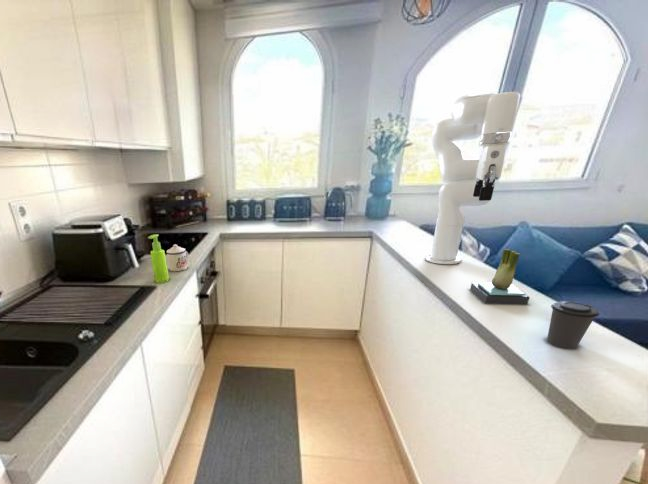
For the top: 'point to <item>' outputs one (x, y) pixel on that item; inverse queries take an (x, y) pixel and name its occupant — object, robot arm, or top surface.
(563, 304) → the coffee cup
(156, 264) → the soap dispenser
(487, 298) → the scale
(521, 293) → the scale pan
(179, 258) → the teacup with lid
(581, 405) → the top surface
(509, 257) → the fennel bulb
